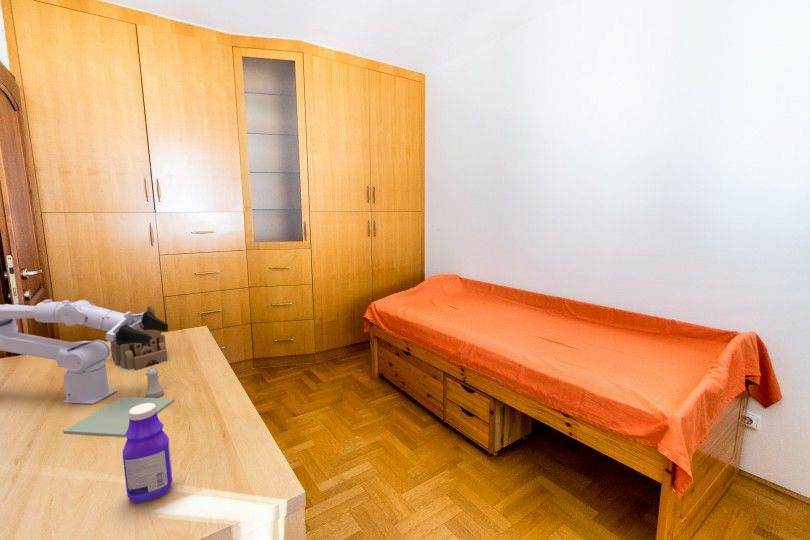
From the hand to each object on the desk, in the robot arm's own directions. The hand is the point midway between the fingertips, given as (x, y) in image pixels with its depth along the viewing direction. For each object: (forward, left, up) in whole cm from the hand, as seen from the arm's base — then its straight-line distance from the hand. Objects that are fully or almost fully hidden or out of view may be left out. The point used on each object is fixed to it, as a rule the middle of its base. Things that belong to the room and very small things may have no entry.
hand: (158, 333), depth 106 cm
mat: (-3, -11, -19) cm, 22 cm away
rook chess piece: (-3, 0, -19) cm, 19 cm away
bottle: (+25, -35, -19) cm, 47 cm away
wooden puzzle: (-30, +25, -19) cm, 44 cm away
